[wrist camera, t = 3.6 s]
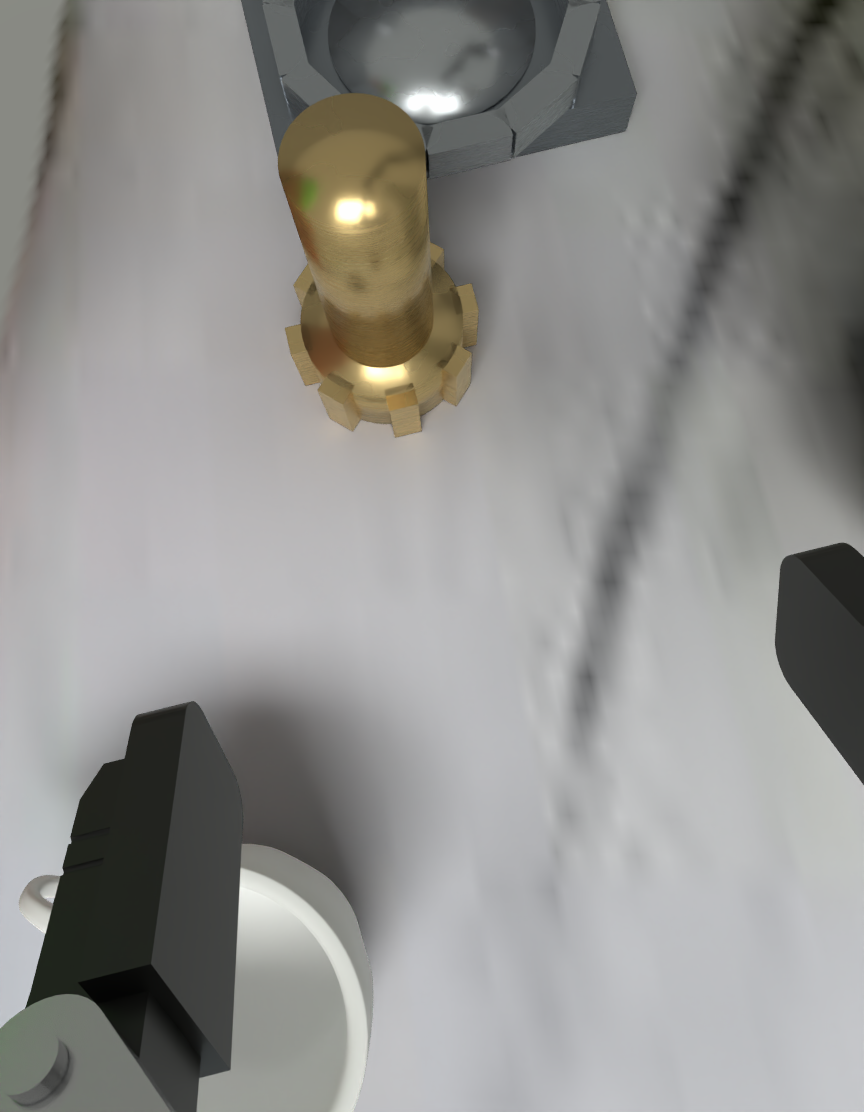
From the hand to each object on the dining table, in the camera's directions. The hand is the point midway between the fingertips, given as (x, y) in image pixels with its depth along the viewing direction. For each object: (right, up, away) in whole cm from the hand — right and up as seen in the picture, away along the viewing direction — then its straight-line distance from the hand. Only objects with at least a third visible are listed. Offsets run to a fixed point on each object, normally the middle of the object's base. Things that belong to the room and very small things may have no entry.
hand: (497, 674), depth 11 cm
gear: (-2, +8, +16) cm, 19 cm away
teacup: (-7, -10, +13) cm, 18 cm away
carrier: (-1, +21, +19) cm, 28 cm away
